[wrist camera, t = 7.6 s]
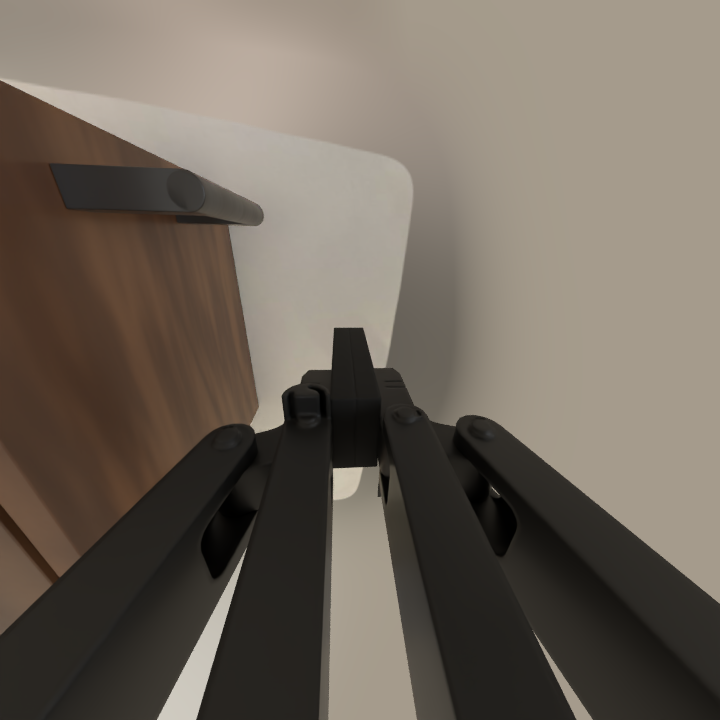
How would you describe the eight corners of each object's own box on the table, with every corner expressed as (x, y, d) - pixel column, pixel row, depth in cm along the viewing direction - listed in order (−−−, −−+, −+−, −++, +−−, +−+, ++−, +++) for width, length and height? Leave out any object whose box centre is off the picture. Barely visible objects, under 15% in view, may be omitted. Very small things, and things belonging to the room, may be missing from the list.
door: (280, 189, 26) (13, -67, 5) (300, 405, 37) (248, 636, 15) (206, 186, 26) (-509, -123, 4) (247, 407, 37) (116, 649, 15)
